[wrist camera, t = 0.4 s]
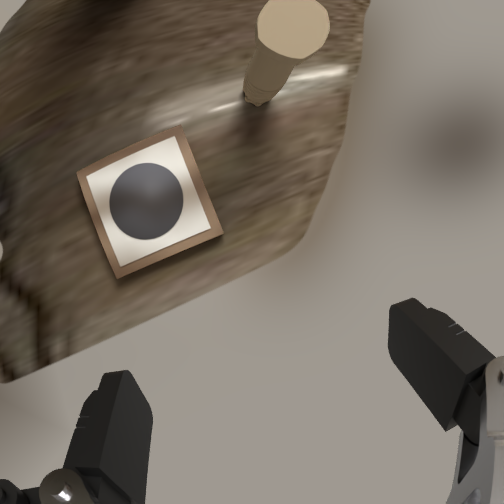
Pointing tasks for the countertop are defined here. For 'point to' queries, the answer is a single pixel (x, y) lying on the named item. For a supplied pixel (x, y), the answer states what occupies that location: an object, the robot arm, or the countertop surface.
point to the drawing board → (148, 201)
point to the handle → (283, 45)
